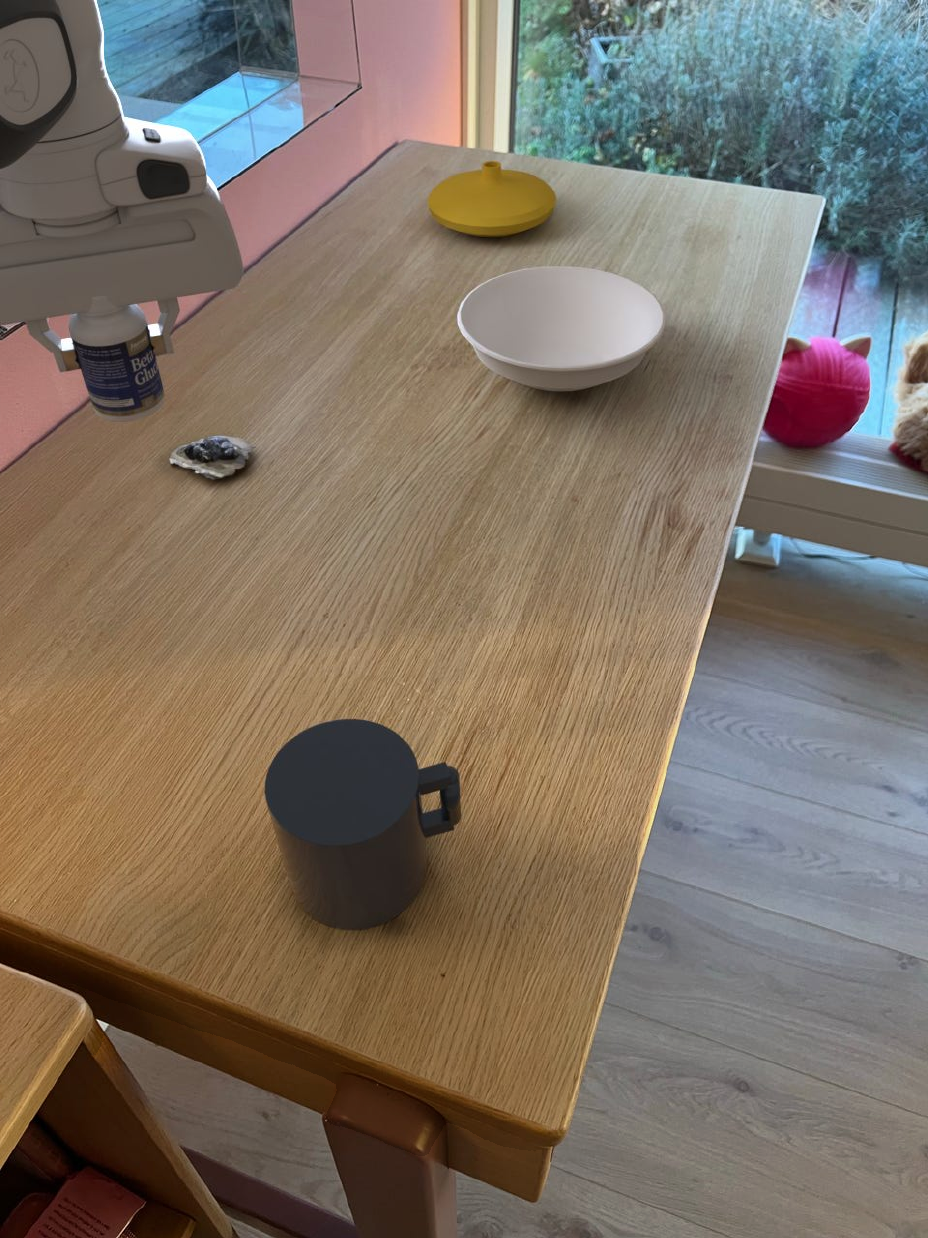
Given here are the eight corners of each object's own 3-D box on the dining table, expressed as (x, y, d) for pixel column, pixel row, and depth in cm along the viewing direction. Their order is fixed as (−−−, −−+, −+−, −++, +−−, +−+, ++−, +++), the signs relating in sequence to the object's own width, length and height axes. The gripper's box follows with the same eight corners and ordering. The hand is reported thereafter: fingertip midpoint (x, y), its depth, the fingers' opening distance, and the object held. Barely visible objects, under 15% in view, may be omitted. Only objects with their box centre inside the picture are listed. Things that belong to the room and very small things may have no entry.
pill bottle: (158, 424, 74) (125, 302, 68) (86, 424, 75) (46, 302, 68) (173, 385, 78) (143, 265, 71) (104, 385, 78) (68, 266, 71)
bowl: (558, 455, 90) (561, 393, 85) (418, 369, 101) (414, 311, 96) (701, 373, 99) (710, 314, 94) (558, 303, 109) (560, 246, 105)
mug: (304, 948, 57) (279, 865, 51) (277, 829, 63) (252, 740, 56) (483, 894, 59) (481, 807, 53) (442, 783, 65) (435, 692, 59)
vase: (571, 242, 120) (574, 182, 115) (442, 258, 118) (439, 198, 113) (536, 190, 131) (538, 134, 126) (418, 204, 129) (414, 147, 124)
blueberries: (238, 487, 88) (234, 469, 86) (153, 477, 89) (148, 460, 88) (264, 442, 92) (261, 425, 91) (183, 434, 94) (178, 417, 92)
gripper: (-116, 207, 59) (-33, 407, 69) (228, 162, 64) (261, 356, 74) (-109, 169, 64) (-31, 362, 73) (213, 129, 68) (246, 316, 78)
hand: (118, 358), depth 74 cm, fingers closed on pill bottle, 5 cm apart
